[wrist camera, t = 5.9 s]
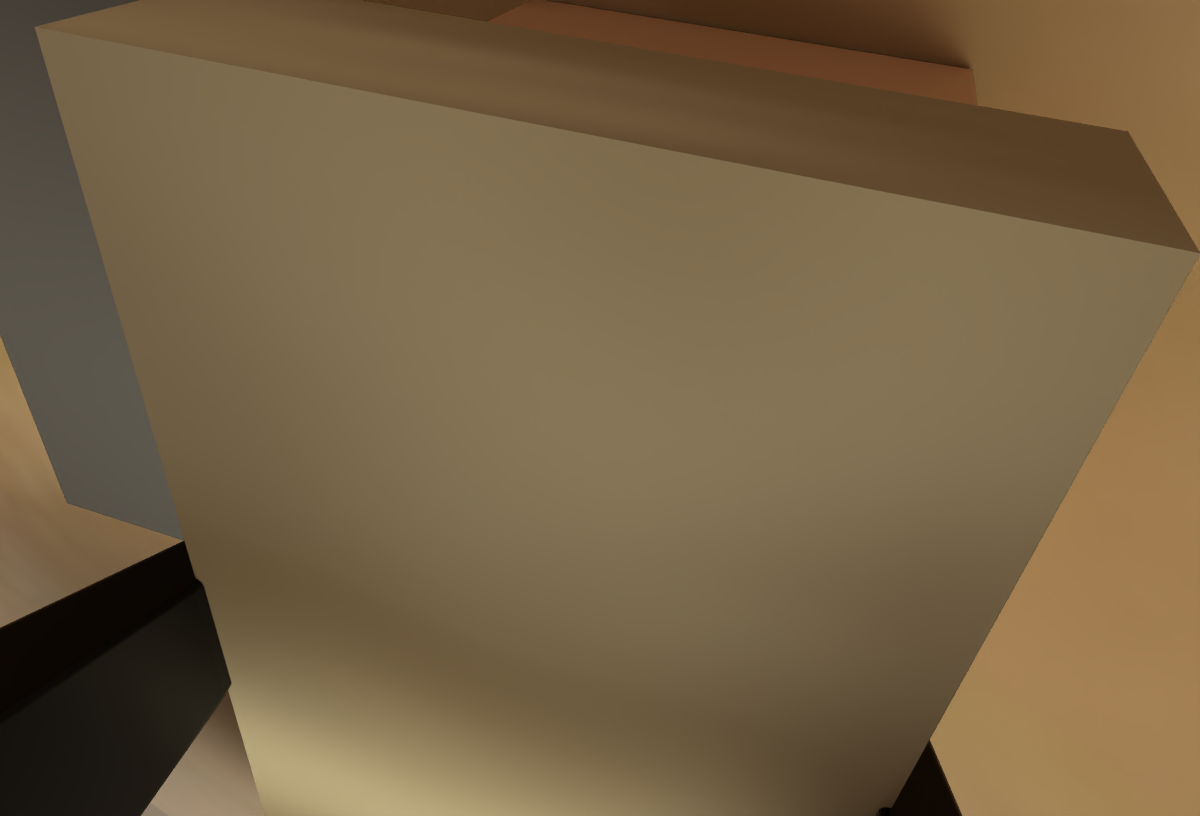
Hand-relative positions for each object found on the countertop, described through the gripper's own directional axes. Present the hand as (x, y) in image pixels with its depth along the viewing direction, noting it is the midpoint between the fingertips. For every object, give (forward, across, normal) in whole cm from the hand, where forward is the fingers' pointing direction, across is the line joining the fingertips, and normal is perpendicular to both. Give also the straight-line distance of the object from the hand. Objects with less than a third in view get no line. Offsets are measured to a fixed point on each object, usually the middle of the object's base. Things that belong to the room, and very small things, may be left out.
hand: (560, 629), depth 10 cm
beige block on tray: (+1, 0, 0) cm, 1 cm away
